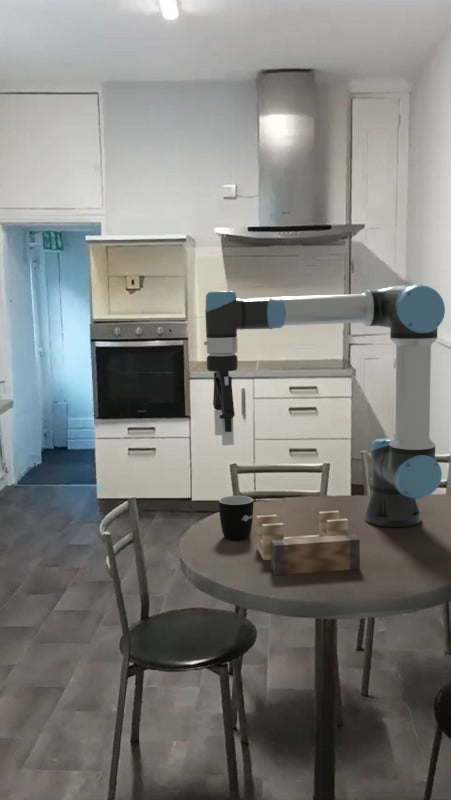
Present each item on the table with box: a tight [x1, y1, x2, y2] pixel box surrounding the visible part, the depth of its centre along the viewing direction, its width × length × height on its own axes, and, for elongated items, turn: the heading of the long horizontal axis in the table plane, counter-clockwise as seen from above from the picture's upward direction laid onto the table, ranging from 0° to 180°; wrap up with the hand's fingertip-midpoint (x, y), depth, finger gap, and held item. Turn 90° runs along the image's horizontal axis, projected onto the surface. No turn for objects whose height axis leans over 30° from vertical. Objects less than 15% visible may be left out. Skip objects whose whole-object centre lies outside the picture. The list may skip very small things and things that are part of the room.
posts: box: [255, 510, 349, 561], centre depth 199 cm, size 21×9×8 cm, turn 98°
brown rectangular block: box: [270, 534, 361, 576], centre depth 187 cm, size 20×4×7 cm, turn 98°
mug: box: [218, 495, 254, 542], centre depth 213 cm, size 12×9×10 cm
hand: (224, 439), depth 201 cm, fingers open, 13 cm apart
